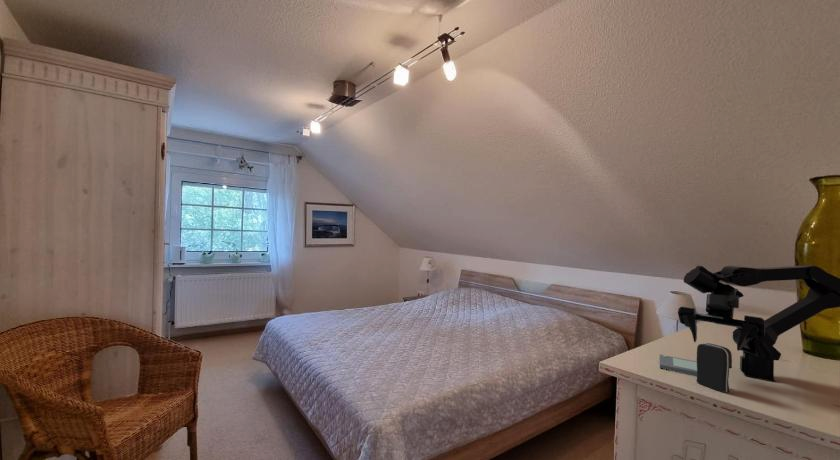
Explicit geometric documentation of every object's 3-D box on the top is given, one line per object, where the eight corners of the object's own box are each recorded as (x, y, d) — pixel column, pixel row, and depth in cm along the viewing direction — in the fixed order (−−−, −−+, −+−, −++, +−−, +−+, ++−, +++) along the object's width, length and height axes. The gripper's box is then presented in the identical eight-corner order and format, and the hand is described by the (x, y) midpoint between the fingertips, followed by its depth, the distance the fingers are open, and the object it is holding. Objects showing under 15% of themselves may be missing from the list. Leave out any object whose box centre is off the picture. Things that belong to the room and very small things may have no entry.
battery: (733, 391, 90) (734, 348, 90) (725, 393, 89) (726, 349, 89) (703, 381, 97) (704, 340, 97) (695, 382, 95) (696, 341, 95)
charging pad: (714, 368, 107) (714, 364, 107) (719, 380, 97) (719, 375, 97) (659, 358, 115) (659, 353, 115) (659, 368, 105) (659, 363, 105)
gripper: (679, 280, 106) (670, 320, 98) (765, 288, 92) (761, 336, 85) (684, 303, 111) (676, 343, 104) (766, 313, 97) (763, 361, 90)
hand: (715, 345), depth 95 cm, fingers open, 9 cm apart
